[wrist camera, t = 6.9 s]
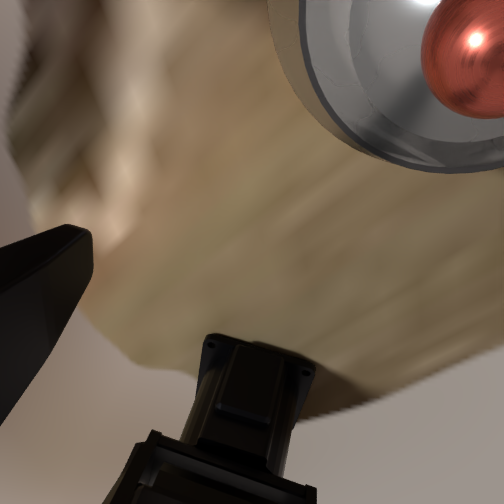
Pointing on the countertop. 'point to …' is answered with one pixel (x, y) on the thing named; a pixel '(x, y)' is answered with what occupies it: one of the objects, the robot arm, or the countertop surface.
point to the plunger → (433, 64)
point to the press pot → (357, 92)
